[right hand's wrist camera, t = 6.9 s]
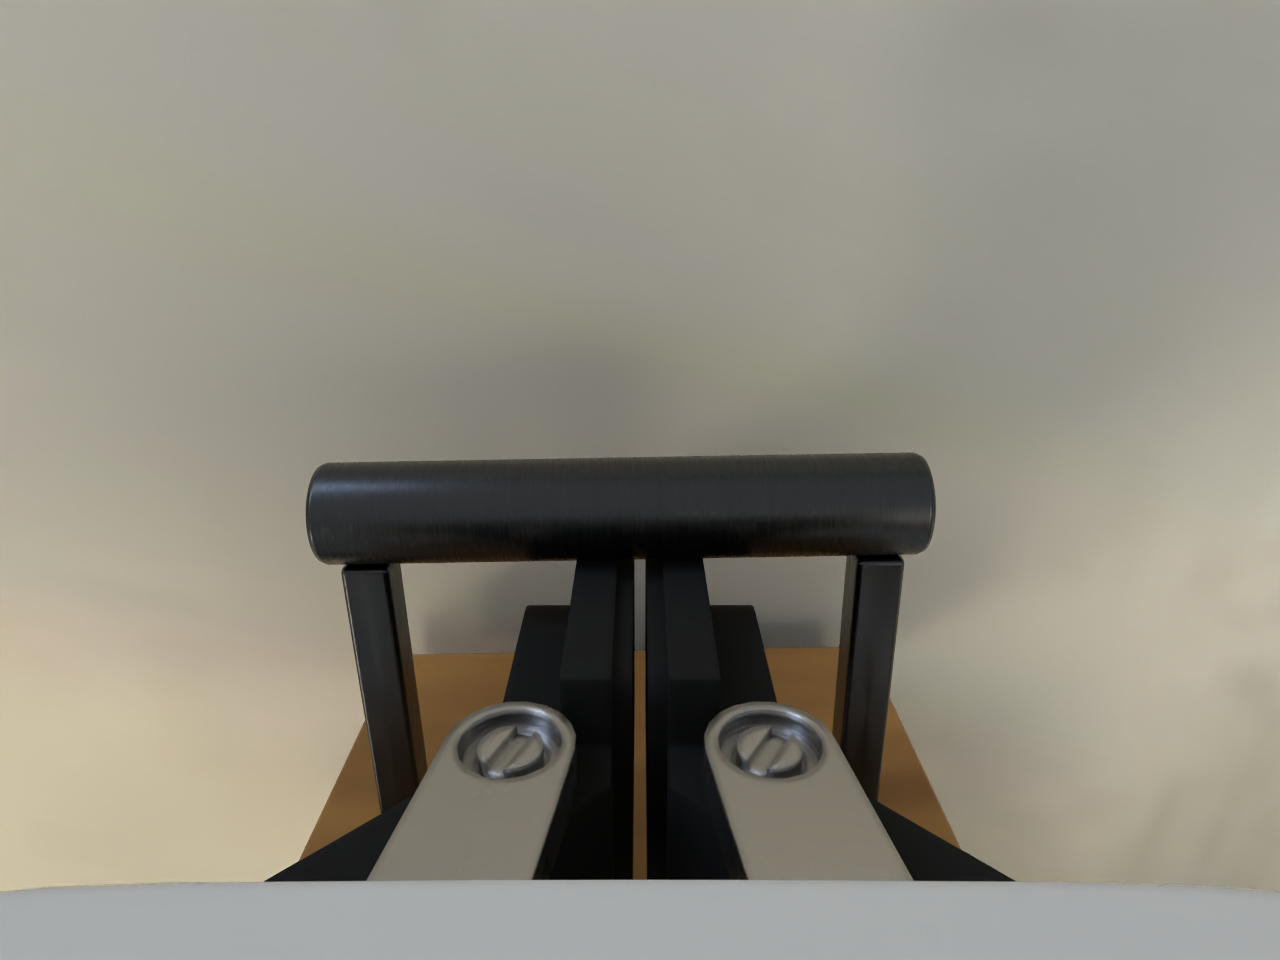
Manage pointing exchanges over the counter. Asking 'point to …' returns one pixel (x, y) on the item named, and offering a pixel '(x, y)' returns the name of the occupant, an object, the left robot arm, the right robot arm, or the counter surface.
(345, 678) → the counter surface
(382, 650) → the drawer
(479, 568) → the counter surface
